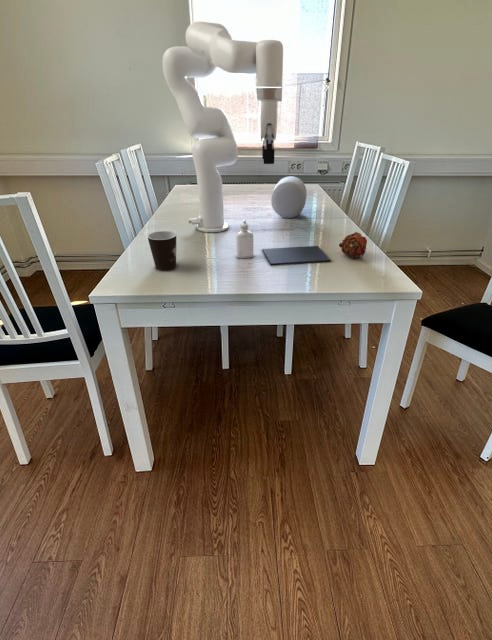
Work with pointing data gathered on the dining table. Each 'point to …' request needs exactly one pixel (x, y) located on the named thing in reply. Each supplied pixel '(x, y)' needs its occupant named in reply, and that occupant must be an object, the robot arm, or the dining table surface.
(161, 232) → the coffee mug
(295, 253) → the mat
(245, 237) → the eye dropper bottle
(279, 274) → the dining table surface
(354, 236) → the dragon fruit
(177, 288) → the dining table surface
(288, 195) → the grey egg shape
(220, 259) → the dining table surface
